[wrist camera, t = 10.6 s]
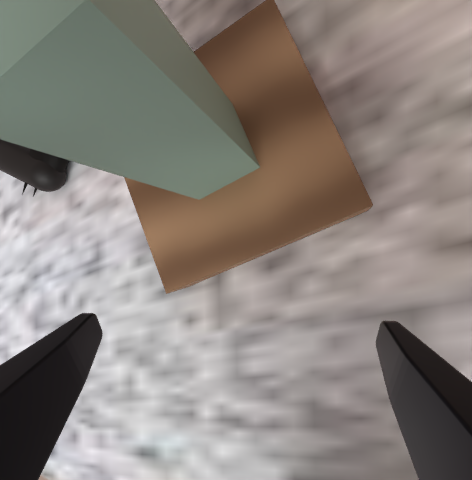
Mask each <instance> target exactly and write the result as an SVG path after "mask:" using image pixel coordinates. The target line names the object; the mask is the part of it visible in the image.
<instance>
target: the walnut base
mask: <svg viewBox="0 0 472 480" xmlns="http://www.w3.org/2000/svg"><path fill="white" fill-rule="evenodd" d="M194 54H195V55H196V56H197V58H198V59H199V60H200V62H201V63H202V64H203V65H204V67H205V68H206V69H207V71H208V72H209V73H210V75H211V76H212V77H213V79H214V80H215V81H216V83H217V84H218V85H219V87H220V88H221V89H222V91H223V92H224V93H225V95H226V96H227V97H228V99H229V100H230V101H231V103H232V104H233V106H234V108H235V111H236V113H237V115H238V117H239V120H240V122H241V124H242V127H243V129H244V131H245V133H246V136H247V138H248V140H249V143H250V145H251V147H252V149H253V152H254V154H255V156H256V159H257V161H258V163H259V165H260V168H258V169H256V170H254V171H253V172H251V173H249V174H247V175H245V176H243V177H241V178H239V179H238V180H236V181H234V182H232V183H230V184H228V185H226V186H224V187H222V188H221V189H219V190H217V191H215V192H213V193H211V194H209V195H207V196H205V197H204V198H202V199H200V200H198V199H195V198H192V197H188V196H185V195H182V194H178V193H175V192H172V191H169V190H165V189H162V188H159V187H155V186H152V185H149V184H146V183H142V182H139V181H136V180H132V179H129V178H126V177H124V178H125V181H126V183H127V186H128V189H129V192H130V194H131V197H132V200H133V203H134V205H135V208H136V211H137V214H138V217H139V219H140V222H141V225H142V228H143V230H144V233H145V236H146V239H147V241H148V244H149V247H150V250H151V252H152V255H153V258H154V261H155V264H156V266H157V269H158V272H159V275H160V277H161V280H162V283H163V286H164V288H165V291H166V294H167V293H170V292H173V291H177V290H180V289H183V288H186V287H189V286H192V285H194V284H196V283H199V282H201V281H203V280H206V279H208V278H210V277H213V276H215V275H217V274H220V273H222V272H224V271H227V270H229V269H231V268H234V267H236V266H239V265H241V264H243V263H246V262H248V261H250V260H253V259H255V258H257V257H260V256H262V255H264V254H267V253H269V252H271V251H274V250H276V249H279V248H281V247H283V246H286V245H288V244H290V243H293V242H295V241H297V240H300V239H302V238H304V237H307V236H309V235H311V234H314V233H316V232H319V231H321V230H323V229H326V228H328V227H330V226H333V225H335V224H337V223H340V222H342V221H344V220H347V219H349V218H351V217H354V216H356V215H358V214H361V213H363V212H366V211H368V210H369V209H370V208H371V207H372V206H373V204H372V202H371V199H370V197H369V195H368V193H367V191H366V189H365V187H364V185H363V183H362V181H361V179H360V177H359V175H358V173H357V171H356V169H355V166H354V164H353V162H352V160H351V158H350V156H349V154H348V152H347V150H346V148H345V146H344V144H343V142H342V140H341V138H340V135H339V133H338V131H337V129H336V127H335V125H334V123H333V121H332V119H331V117H330V115H329V113H328V111H327V109H326V107H325V104H324V102H323V100H322V98H321V96H320V94H319V92H318V90H317V88H316V86H315V84H314V82H313V80H312V78H311V76H310V74H309V71H308V69H307V67H306V65H305V63H304V61H303V59H302V57H301V55H300V53H299V51H298V49H297V47H296V45H295V43H294V40H293V38H292V36H291V34H290V32H289V30H288V28H287V26H286V24H285V22H284V20H283V18H282V16H281V14H280V12H279V10H278V7H277V5H276V3H275V1H274V0H266V1H264V2H263V3H262V4H260V5H259V6H257V7H256V8H255V9H253V10H252V11H250V12H249V13H248V14H246V15H245V16H243V17H242V18H241V19H239V20H238V21H236V22H235V23H234V24H232V25H231V26H229V27H228V28H227V29H225V30H224V31H222V32H221V33H220V34H218V35H217V36H215V37H214V38H213V39H211V40H210V41H208V42H207V43H206V44H204V45H203V46H201V47H200V48H199V49H197V50H196V51H194Z"/></svg>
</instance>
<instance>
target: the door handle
mask: <svg viewBox="0 0 472 480" xmlns="http://www.w3.org/2000/svg"><path fill="white" fill-rule="evenodd" d="M68 162H69V160H67V159H63V158H60V157H57V156H54V155H50V154H47V153H44V152H40V151H37V150H34V149H31V148H27V147H24V146H21V145H17V144H14V143H11V142H8V141H4V140H1V139H0V170H1V171H3V172H5V173H7V174H9V175H11V176H13V177H15V178H17V179H19V180H21V181H23V182H25V184H24V189H23V192H24V190H25V188H26V186H27V184H29V185H31V186H33V187H35V191H34V194H35V192H36V190H37V189H39V190H41V191H47V192H51V191H55V190H58V189H60V188H61V187H62V186H63V185H64V183H65V181H66V172H65V170H66V167H67V164H68ZM22 194H23V193H22ZM33 196H34V195H33Z"/></svg>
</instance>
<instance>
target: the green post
mask: <svg viewBox="0 0 472 480" xmlns="http://www.w3.org/2000/svg"><path fill="white" fill-rule="evenodd" d="M0 139H1V140H4V141H8V142H11V143H14V144H17V145H21V146H24V147H27V148H31V149H34V150H37V151H40V152H44V153H47V154H50V155H54V156H57V157H60V158H63V159H67V160H70V161H73V162H77V163H80V164H83V165H86V166H90V167H93V168H96V169H100V170H103V171H106V172H109V173H113V174H116V175H119V176H123V177H126V178H129V179H132V180H136V181H139V182H142V183H146V184H149V185H152V186H155V187H159V188H162V189H165V190H169V191H172V192H175V193H178V194H182V195H185V196H188V197H192V198H195V199H198V200H200V199H202V198H204V197H205V196H207V195H209V194H211V193H213V192H215V191H217V190H219V189H221V188H222V187H224V186H226V185H228V184H230V183H232V182H234V181H236V180H238V179H239V178H241V177H243V176H245V175H247V174H249V173H251V172H253V171H254V170H256V169H258V168H260V165H259V163H258V161H257V159H256V156H255V154H254V152H253V149H252V147H251V145H250V143H249V140H248V138H247V136H246V133H245V131H244V129H243V127H242V124H241V122H240V120H239V117H238V115H237V113H236V111H235V108H234V106H233V104H232V103H231V101H230V100H229V99H228V97H227V96H226V95H225V93H224V92H223V91H222V89H221V88H220V87H219V85H218V84H217V83H216V81H215V80H214V79H213V77H212V76H211V75H210V73H209V72H208V71H207V69H206V68H205V67H204V65H203V64H202V63H201V62H200V60H199V59H198V58H197V56H196V55H195V54H194V52H193V51H192V50H191V48H190V47H189V46H188V44H187V43H186V42H185V40H184V39H183V38H182V36H181V35H180V34H179V32H178V31H177V30H176V28H175V27H174V26H173V24H172V23H171V22H170V20H169V19H168V18H167V16H166V15H165V14H164V12H163V11H162V10H161V8H160V7H159V6H158V4H157V3H156V2H155V0H0Z"/></svg>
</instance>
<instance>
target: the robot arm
mask: <svg viewBox="0 0 472 480" xmlns="http://www.w3.org/2000/svg"><path fill="white" fill-rule="evenodd" d="M101 339H102V329H101V326H100V324H99V321H98V319H97V316H96V315H95V314H93V313H82V314H80V315H78V316H76V317H75V318H73V319H72V320H70V321H69V322H67V323H65V324H64V325H62V326H61V327H59V328H58V329H56V330H55V331H53V332H51V333H50V334H48V335H47V336H45V337H44V338H42V339H41V340H39V341H37V342H36V343H34V344H33V345H31V346H30V347H28V348H26V349H25V350H23V351H22V352H20V353H19V354H17V355H16V356H14V357H12V358H11V359H9V360H8V361H6V362H5V363H3V364H1V365H0V480H38V479H39V477H40V475H41V473H42V471H43V469H44V467H45V465H46V463H47V460H48V458H49V456H50V454H51V452H52V450H53V448H54V446H55V444H56V442H57V440H58V438H59V436H60V434H61V432H62V430H63V428H64V426H65V423H66V421H67V419H68V417H69V415H70V413H71V411H72V409H73V407H74V405H75V403H76V401H77V399H78V397H79V395H80V393H81V391H82V388H83V386H84V384H85V382H86V379H87V377H88V374H89V371H90V369H91V366H92V363H93V361H94V358H95V355H96V353H97V350H98V347H99V345H100V342H101ZM376 348H377V352H378V356H379V360H380V364H381V368H382V372H383V376H384V380H385V384H386V388H387V392H388V395H389V399H390V402H391V405H392V408H393V410H394V413H395V416H396V419H397V421H398V424H399V427H400V430H401V432H402V435H403V438H404V440H405V443H406V446H407V449H408V451H409V454H410V457H411V459H412V462H413V465H414V468H415V470H416V473H417V476H418V478H419V480H472V382H471V381H470V380H469V379H467V378H466V377H465V376H464V375H462V374H461V373H460V372H459V371H458V370H456V369H455V368H454V367H453V366H451V365H450V364H449V363H448V362H446V361H445V360H444V359H443V358H442V357H440V356H439V355H438V354H437V353H435V352H434V351H433V350H432V349H431V348H429V347H428V346H427V345H426V344H424V343H423V342H422V341H421V340H420V339H418V338H417V337H416V336H415V335H413V334H412V333H411V332H410V331H408V330H407V329H406V328H405V327H404V326H402V325H401V324H400V323H398V322H396V321H382V322H381V324H380V327H379V331H378V335H377V339H376Z"/></svg>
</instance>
